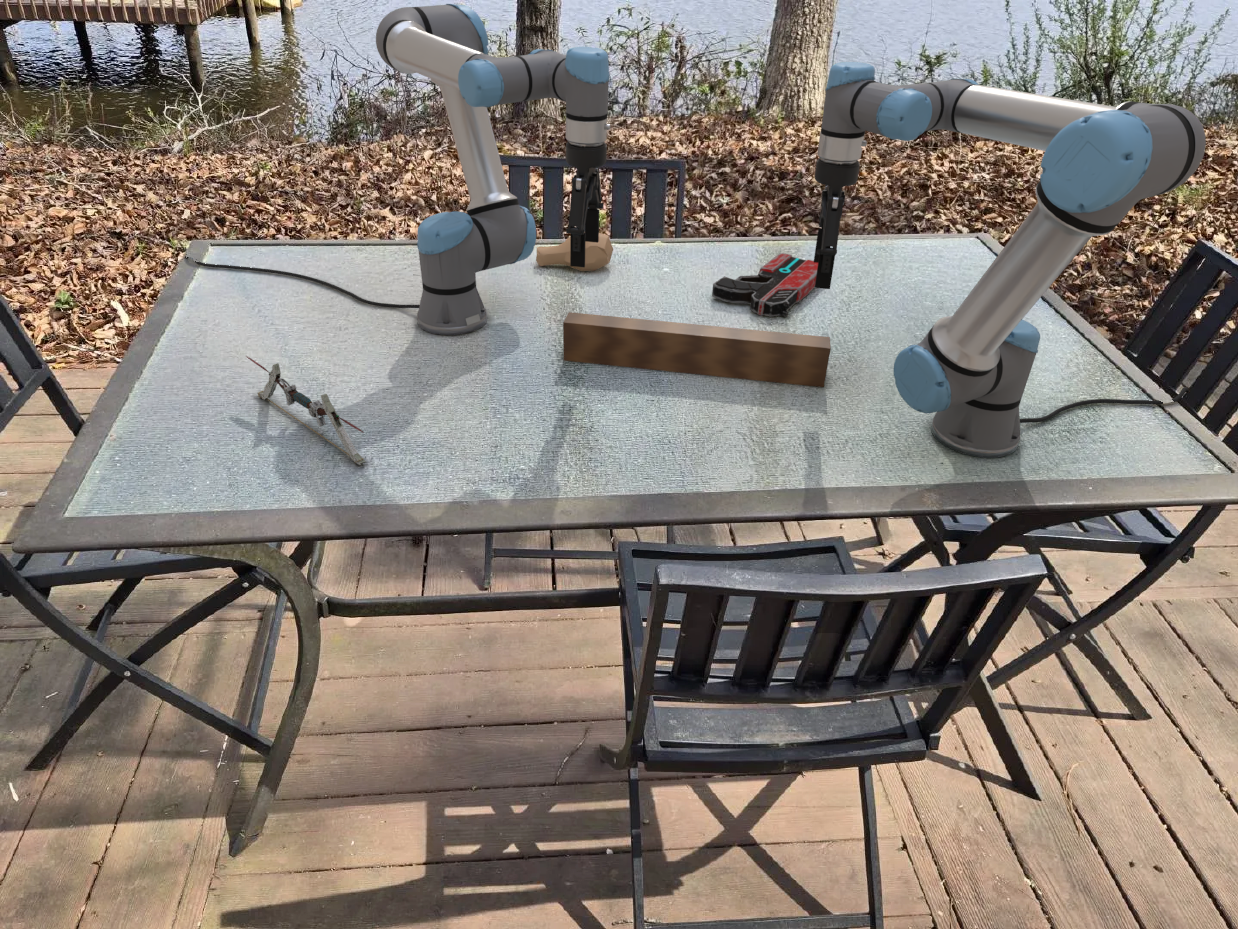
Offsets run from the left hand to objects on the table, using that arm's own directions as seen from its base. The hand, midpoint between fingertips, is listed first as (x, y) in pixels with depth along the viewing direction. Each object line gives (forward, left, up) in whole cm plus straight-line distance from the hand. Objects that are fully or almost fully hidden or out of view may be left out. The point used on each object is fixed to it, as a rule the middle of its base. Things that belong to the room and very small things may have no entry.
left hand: (585, 253), depth 172 cm
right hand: (+37, +26, 0) cm, 46 cm away
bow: (-12, -57, -23) cm, 62 cm away
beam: (+19, +13, -23) cm, 32 cm away
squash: (-40, +32, -23) cm, 56 cm away
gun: (+4, +58, -23) cm, 63 cm away
